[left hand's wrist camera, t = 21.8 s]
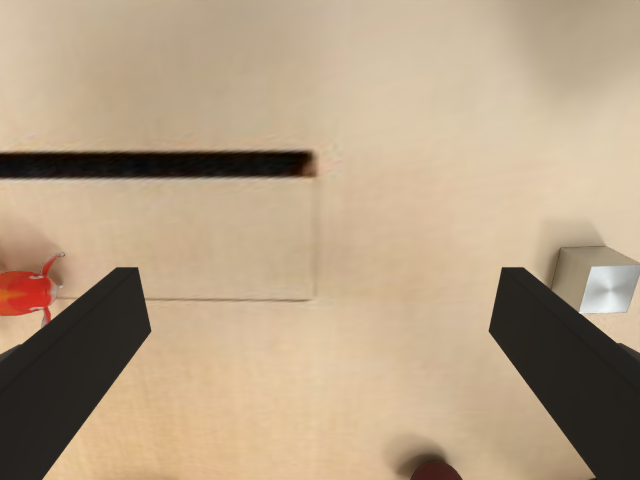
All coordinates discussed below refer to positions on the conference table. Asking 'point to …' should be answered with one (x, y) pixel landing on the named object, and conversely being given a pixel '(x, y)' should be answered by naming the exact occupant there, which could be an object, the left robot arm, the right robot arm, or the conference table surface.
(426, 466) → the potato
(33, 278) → the fish
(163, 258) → the conference table surface
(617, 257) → the block
